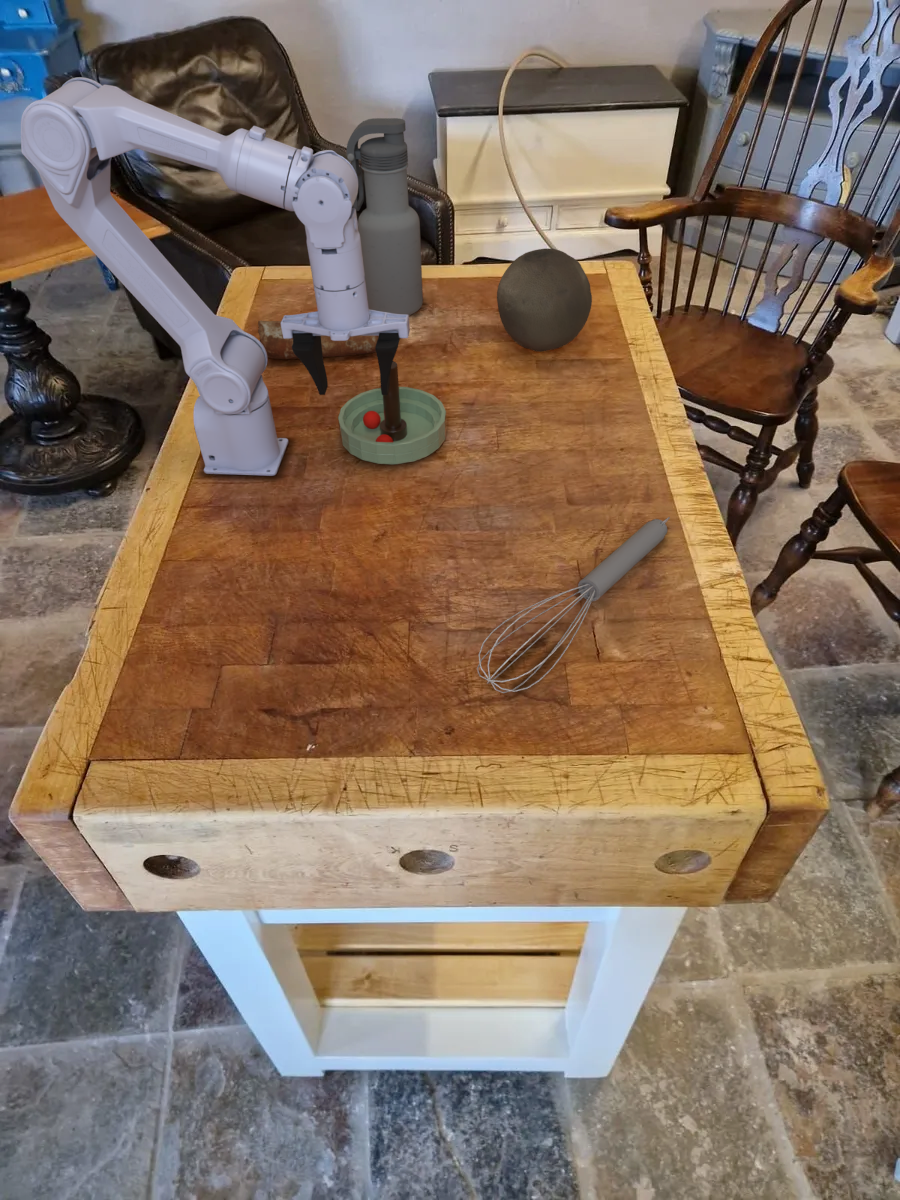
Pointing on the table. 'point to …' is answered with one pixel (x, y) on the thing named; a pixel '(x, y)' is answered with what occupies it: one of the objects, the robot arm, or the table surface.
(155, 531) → the table surface
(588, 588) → the kitchen whisk
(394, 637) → the table surface
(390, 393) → the stirrer
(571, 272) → the dark grey ball
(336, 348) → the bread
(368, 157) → the water bottle
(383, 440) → the tomato
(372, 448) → the bowl
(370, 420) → the tomato
